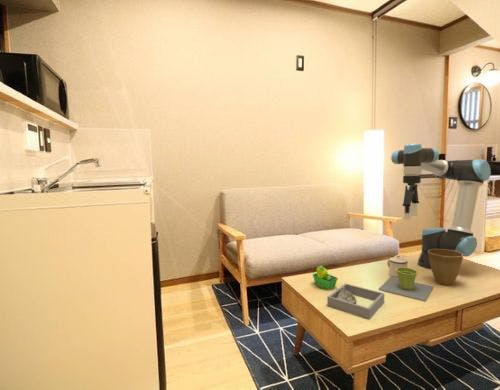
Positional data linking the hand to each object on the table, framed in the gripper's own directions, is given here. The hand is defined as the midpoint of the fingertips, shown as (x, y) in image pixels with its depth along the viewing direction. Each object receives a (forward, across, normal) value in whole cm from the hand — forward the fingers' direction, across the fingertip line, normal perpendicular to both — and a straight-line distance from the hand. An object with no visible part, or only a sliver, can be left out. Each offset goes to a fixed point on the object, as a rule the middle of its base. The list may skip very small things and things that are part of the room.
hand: (410, 217), depth 141 cm
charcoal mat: (+35, +6, 0) cm, 35 cm away
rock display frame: (+35, +37, -13) cm, 52 cm away
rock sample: (+35, +40, -16) cm, 56 cm away
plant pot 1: (+34, +6, 0) cm, 35 cm away
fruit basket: (+35, +28, -33) cm, 56 cm away
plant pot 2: (+35, -14, +13) cm, 40 cm away
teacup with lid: (+35, -11, -9) cm, 38 cm away
